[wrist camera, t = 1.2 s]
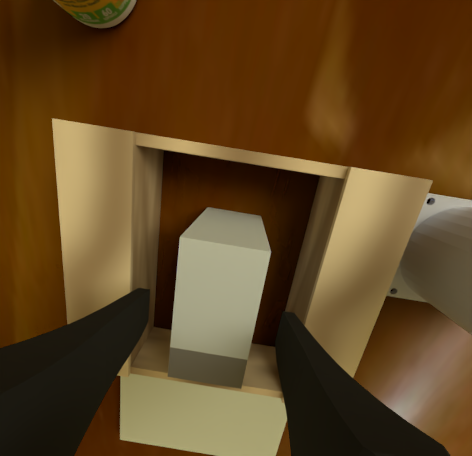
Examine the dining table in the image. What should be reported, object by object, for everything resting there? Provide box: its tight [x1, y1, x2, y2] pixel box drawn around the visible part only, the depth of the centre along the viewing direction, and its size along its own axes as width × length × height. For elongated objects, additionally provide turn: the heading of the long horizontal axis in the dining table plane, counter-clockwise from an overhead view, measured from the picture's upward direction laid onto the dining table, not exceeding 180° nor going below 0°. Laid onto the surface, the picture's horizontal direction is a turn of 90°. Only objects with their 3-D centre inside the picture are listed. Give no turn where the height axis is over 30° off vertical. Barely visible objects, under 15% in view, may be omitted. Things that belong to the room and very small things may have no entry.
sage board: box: [120, 373, 287, 456], centre depth 21 cm, size 16×12×1 cm
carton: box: [52, 118, 433, 403], centre depth 15 cm, size 19×16×4 cm
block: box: [168, 207, 271, 389], centre depth 14 cm, size 4×8×7 cm, turn 171°
